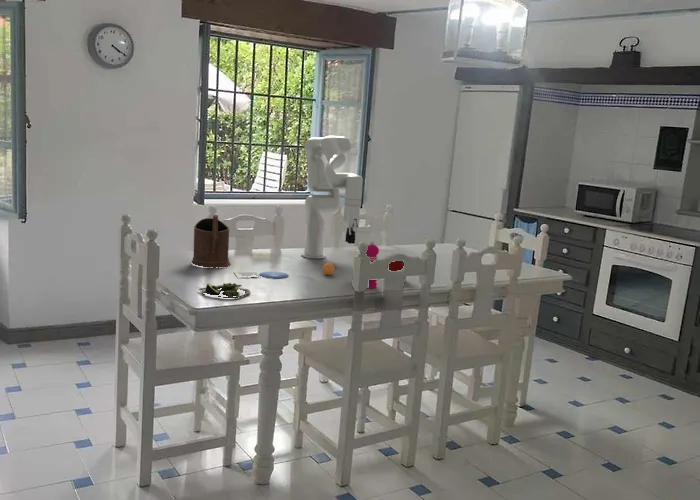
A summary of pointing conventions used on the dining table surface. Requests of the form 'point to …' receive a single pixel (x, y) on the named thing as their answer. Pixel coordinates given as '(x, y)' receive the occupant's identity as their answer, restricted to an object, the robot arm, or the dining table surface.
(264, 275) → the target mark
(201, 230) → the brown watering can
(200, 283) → the dining table surface
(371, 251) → the pepper mill
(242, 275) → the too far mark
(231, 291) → the salad plate
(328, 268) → the ball
